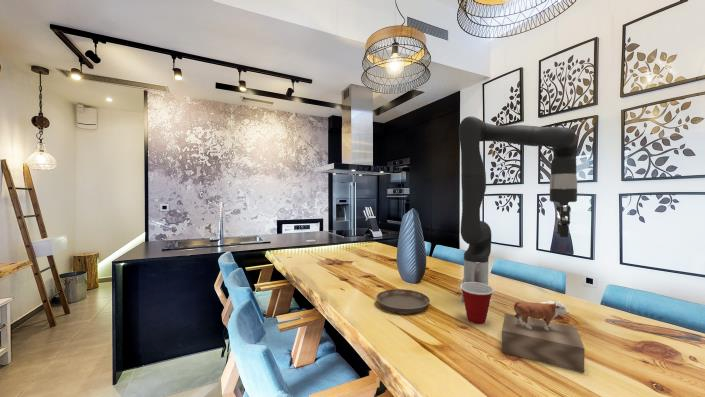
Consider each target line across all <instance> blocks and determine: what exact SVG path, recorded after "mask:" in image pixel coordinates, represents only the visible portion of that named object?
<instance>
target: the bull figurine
mask: <svg viewBox="0 0 705 397" xmlns="http://www.w3.org/2000/svg"><path fill="white" fill-rule="evenodd" d="M513 308H514V311H515V314H514V315H515V318H516V323H517V324H518V325H521V324H523V322H524V323H525V325H526V327H527V328H529V329H530V330H532V328H531V327H530V325H529V324H528V318H531V319H532V321H534V319H538V320H543V321H545V326H544V329H546V331H549V329H548V328H551V327H550V326H549V322H552V320H554V319H555V318H556V317H558V315H563V314H564V315H569V313H570V311H569V310H568V309H567V307H566V305H565V304H564V303H562V301H560V300H559V301H556V302H555V301H552V300H547V301H541V302H532V301H531V302H530V301H519V300H518V301H516V302H515V303H514V304H513Z"/></svg>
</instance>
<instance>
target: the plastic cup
mask: <svg viewBox="0 0 705 397" xmlns="http://www.w3.org/2000/svg"><path fill="white" fill-rule="evenodd" d="M459 287H460V289H461V293H462V292H463V297H464V302H463V303H464V309H465V313H466V318H467V321H468V322H470V323H472V324H476V325H483V324H485V323H486V322H487V316H488V312H489V308H490V307H489V306H490V302H491V300H492V299H491V298H492V295H493V293H494V292H495V289H494V288H493V287H492V286H491V285H489V284H488V285H486V284H483V283H478V282H465V283H463V282H461V284H460V285H459Z"/></svg>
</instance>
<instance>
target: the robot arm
mask: <svg viewBox="0 0 705 397" xmlns="http://www.w3.org/2000/svg"><path fill="white" fill-rule="evenodd" d="M458 137H459V143H460V144H459V145H460V155H461V156H460V159H461V160H460V161H461V163H460V165H461V166H460V167H461V169H460V170H461V177H460V178H461V179H460V180H461V222H460V236H461V239H462V240H463V241H464V242H465V244H468V247H467V249H466V251H464V253H463V278H462V283H465V282H478V283H483V284H486V285H489V258H490V254H491V253H492V252H491V251H492V229H491V227H490V225H489V224H488V223H487V222H485V221H483V220H481V207H482V203H483V199H484V197H485V194H486V190H487V173H486V169H485V168H486V167H485V165H484V164H485V163H484V162H483V159H482V155H481V154H482V153H481V150H480V142H501V143H506V144H507V143H508V144H514V145H520V146H528V147H547V148H553V156H552V157H553V158H552V160H551V162H550V180H549V202H551V203H552V202H554V203H558V204H556V206H555V208H554V210H555V219H556V224H557V228H556V229H557V230H556V231H557V234H558V235H559V237H561V238H568V237H569V226H570V224H571V213H572V212H571V211H572V208H571V205H569V203H576V202H577V201H578V178H577V177H578V176H577V154H578V145H579V140H578V139H579V138H578V135H577V134H576V132H575V131H574V130H573V129H572V128H568V127H564V126H538V125H537V126H535V125H526V124H525V125H523V124H518V125H517V124H515V125H514V124H513V125H498V124H491V123H487V122H485V121H483V120H481V119H479V118H478V117H475V116H467V117H465V118H463V119H462V120H461V122H460V123H459V127H458ZM461 294H462V301H461V302H462V303H464V297H463V292H462V291H461Z"/></svg>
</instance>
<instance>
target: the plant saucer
mask: <svg viewBox="0 0 705 397" xmlns="http://www.w3.org/2000/svg"><path fill="white" fill-rule="evenodd" d="M375 298H376V300H377V302H378V304H379V305H380V307H382V308H383V309H384V310H387V311H389V312H392V313H397V314H405V315H407V314H409V315H411V314H417V313H419V312H422V311H423V310H424V309H426V308H427V307H428V305H429V304H430V302H431V299H430V298H429V297H428V296H427V295H426V294H425V293H422V292H419V291H416V290H412V289H404V288H403V289H402V288H401V289H399V288H397V289H393V288H392V289H387V290H384V291H381V292H379V293H378V294H377V295H376V297H375Z"/></svg>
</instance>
